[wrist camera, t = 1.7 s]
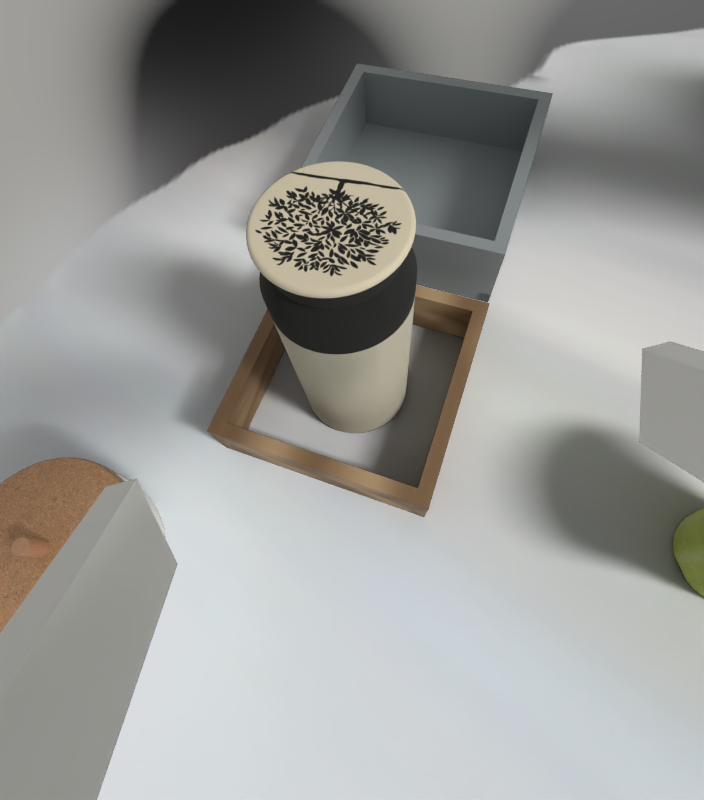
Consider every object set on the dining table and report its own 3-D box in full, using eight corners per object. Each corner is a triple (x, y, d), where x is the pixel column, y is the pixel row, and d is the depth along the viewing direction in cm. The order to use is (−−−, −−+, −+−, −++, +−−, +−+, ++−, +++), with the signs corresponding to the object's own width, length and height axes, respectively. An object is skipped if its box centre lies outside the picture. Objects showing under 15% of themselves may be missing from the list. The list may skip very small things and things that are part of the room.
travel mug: (383, 449, 34) (378, 323, 17) (291, 412, 36) (205, 264, 19) (420, 363, 36) (448, 179, 20) (333, 331, 38) (290, 138, 21)
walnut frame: (479, 331, 37) (489, 303, 33) (423, 516, 32) (428, 508, 28) (303, 284, 40) (294, 254, 36) (226, 447, 35) (206, 431, 31)
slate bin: (531, 155, 44) (552, 93, 38) (487, 302, 38) (505, 254, 32) (360, 123, 47) (356, 63, 42) (295, 254, 42) (281, 203, 36)
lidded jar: (211, 499, 33) (149, 471, 25) (155, 658, 30) (60, 690, 21) (86, 469, 35) (-13, 432, 26) (18, 615, 31) (-123, 628, 23)
